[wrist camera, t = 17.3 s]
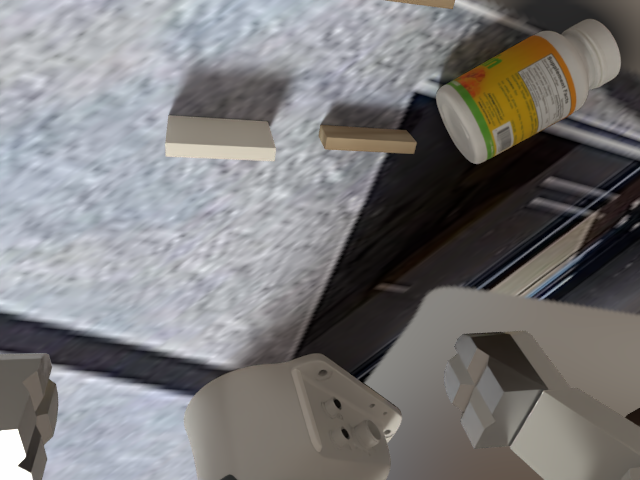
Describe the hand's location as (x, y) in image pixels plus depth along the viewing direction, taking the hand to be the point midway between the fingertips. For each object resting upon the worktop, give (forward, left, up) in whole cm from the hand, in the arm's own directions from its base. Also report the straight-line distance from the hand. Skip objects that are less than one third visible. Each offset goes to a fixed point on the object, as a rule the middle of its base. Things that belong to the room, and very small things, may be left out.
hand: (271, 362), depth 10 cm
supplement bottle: (-13, -5, -21) cm, 25 cm away
